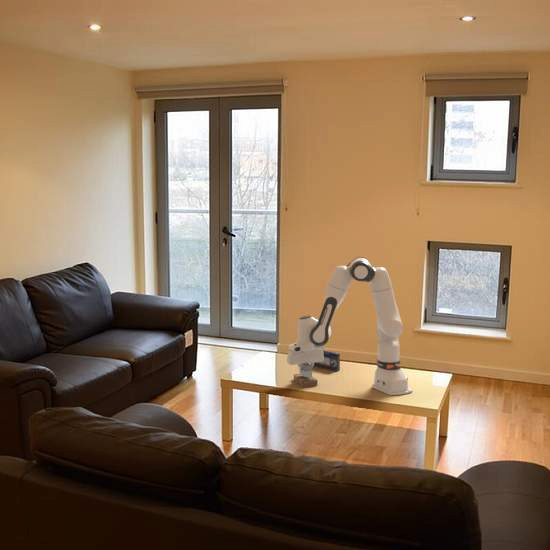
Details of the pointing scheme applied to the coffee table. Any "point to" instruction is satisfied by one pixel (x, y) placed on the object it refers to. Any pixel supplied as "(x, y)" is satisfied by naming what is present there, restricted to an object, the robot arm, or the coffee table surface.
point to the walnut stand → (305, 380)
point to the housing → (306, 370)
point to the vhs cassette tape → (329, 361)
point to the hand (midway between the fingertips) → (305, 370)
